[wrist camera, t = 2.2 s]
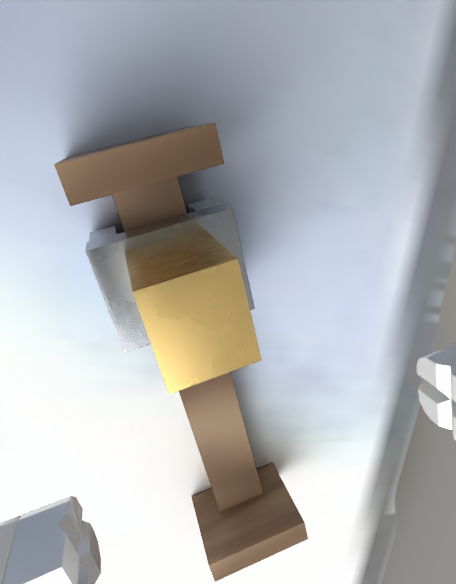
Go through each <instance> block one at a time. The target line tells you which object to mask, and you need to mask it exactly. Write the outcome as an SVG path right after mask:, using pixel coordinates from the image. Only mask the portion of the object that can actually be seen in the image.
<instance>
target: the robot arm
mask: <svg viewBox="0 0 456 584" xmlns="http://www.w3.org/2000/svg"><path fill="white" fill-rule="evenodd" d="M417 374H418V375H419V376H420V377H421V378H423V380H422V382H421V384H420V386H419V388H418V392H419V401H420V403H421V405H422V407H423V409H424V411H425V413H426V414H427V415H428V416H429V418H430V419H431V420H432V421H433V422H435V423H436V424H437V425H438V426H440V427H444V428H447V429H451V430H452V432H453V436H454V439H455V440H456V343H455V344H454V345H452V346H449V347H447V348H444V349H442V350H439V351H437V352H434V353H432V354H429V355H427V356H424V357H422V358H419V360H418V363H417ZM100 573H101V558H100V552H99V546H98V541H97V538H96V535H95V532H94V530H93V528H92V526H91V524H89V523H87V522H84V521H82V507H81V505H80V504H79V502H78V500H77V498H76V497H72V496H71V497H68V498H66V499H63V500H60V501H57V502H55V503H52V504H49V505H47V506H44V507H41V508H39V509H36V510H33V511H31V512H28V513H25V514H23V515H22V516H18V517H16V518H13V519H10V520H8V521H5V522H2V523H0V584H95V582H96V580H97V578H98V577H99V575H100Z"/></svg>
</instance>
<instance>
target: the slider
mask: <svg viewBox="0 0 456 584" xmlns="http://www.w3.org/2000/svg"><path fill="white" fill-rule="evenodd" d="M188 206H189V210H190V213H187V214H184V215H181V216H177V217H174V218H170V219H167V220H163V221H160V222H157V223H153V224H150V225H146V226H143V227H139V228H136V229H133V230H129V231H126V232H122V233H119V234H117V231H116V229H115V226H111V227H108V228H104V229H101V230H97V231H94V232H90V239H89V242H88V243H87V245H86V253H87V256H88V258H89V261H90V264H91V266H92V269H93V271H94V274H95V277H96V279H97V282H98V284H99V287H100V289H101V292H102V295H103V297H104V300H105V302H106V305H107V307H108V310H109V313H110V315H111V318H112V320H113V323H114V325H115V328H116V331H117V333H118V336H119V338H120V341H121V344H122V346H123V349H124V351H125V353H127V352H130V351H133V350H136V349H139V348H141V347H144V346H147V345H150V344H151V345H152V348H153V351H154V354H155V357H156V359H157V362H158V365H159V368H160V371H161V374H162V376H163V379H164V382H165V385H166V388H167V390H168V393H169V394H171V393H174V392H177V391H179V390H182V389H185V388H188V387H190V386H193V385H196V384H198V383H201V382H204V381H207V380H209V379H212V378H215V377H217V376H220V375H223V374H226V373H228V372H231V371H234V370H236V369H239V368H242V367H244V366H247V365H250V364H253V363H255V362H258V361H261V356H260V351H259V347H258V343H257V338H256V334H255V330H254V325H253V321H252V317H251V312H250V310H252V309H255V307H254V303H253V298H252V294H251V289H250V285H249V281H248V276H247V272H246V267H245V263H244V258H243V254H242V249H241V245H240V241H239V236H238V232H237V227H236V223H235V218H234V214H233V209H232V208H231V207H229V206H228V205H226V204H224V203H222V204H221V203H219V202H217V201H215V200H213V199H211V198H208V199H205V200H201V201H198V202H194V203H191V204H188Z"/></svg>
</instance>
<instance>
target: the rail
mask: <svg viewBox="0 0 456 584" xmlns="http://www.w3.org/2000/svg"><path fill="white" fill-rule="evenodd" d="M222 164H224V160H223V156H222V151H221V147H220V142H219V138H218V133H217V129H216V124H215V123H214V124H206V125H199V126H192V127H187V128H183V129H179V130H175V131H171V132H168V133H164V134H160V135H156V136H152V137H148V138H144V139H140V140H136V141H132V142H128V143H124V144H120V145H116V146H112V147H109V148H105V149H101V150H97V151H93V152H89V153H85V154H81V155H77V156H73V157H69V158H65V159H63V160H62V161H60V162H58V163H56V164H54V165H55V168H56V170H57V173H58V175H59V178H60V181H61V183H62V186H63V188H64V191H65V194H66V196H67V199H68V201H69V204H70V206H72V205H76V204H80V203H83V202H87V201H91V200H94V199H98V198H101V197H105V196H109V195H112V196H113V199H114V202H115V205H116V208H117V211H118V213H119V216H120V219H121V222H122V225H123V228H124V231H125V232H126V231H129V230H133V229H136V228H139V227H143V226H146V225H150V224H153V223H157V222H160V221H163V220H167V219H170V218H174V217H177V216H181V215H184V214H187V211H186V207H185V204H184V200H183V196H182V193H181V189H180V185H179V182H178V178H177V177H178V176H182V175H185V174H189V173H192V172H196V171H200V170H203V169H207V168H211V167H214V166H218V165H222ZM179 393H180V396H181V399H182V402H183V404H184V407H185V410H186V413H187V416H188V419H189V422H190V425H191V428H192V431H193V434H194V437H195V440H196V443H197V446H198V449H199V451H200V454H201V457H202V460H203V463H204V466H205V469H206V472H207V475H208V478H209V481H210V484H211V487H212V488H211V489H209V490H206V491H204V492H201V493H199V494H197V495H194V496H192V500H193V504H194V508H195V512H196V516H197V520H198V524H199V528H200V532H201V536H202V540H203V544H204V548H205V552H206V556H207V560H208V563H209V567H210V569H211V572H212V574H213V577H214V580H215V581H217V580H219V579H222V578H224V577H226V576H228V575H230V574H232V573H235V572H237V571H239V570H241V569H243V568H246V567H248V566H250V565H252V564H254V563H256V562H259V561H261V560H263V559H265V558H267V557H269V556H272V555H274V554H276V553H278V552H280V551H282V550H285V549H287V548H289V547H291V546H293V545H295V544H298V543H300V542H302V541H304V540H306V539H308V537H307V533H306V528H305V524H304V521H303V519H302V517H301V515H300V513H299V512H298V510H297V508H296V506H295V504H294V502H293V500H292V498H291V496H290V495H289V493H288V491H287V489H286V487H285V485H284V483H283V481H282V479H281V478H280V476H279V474H278V472H277V470H276V468H275V466H274V464H273V463H271V464H268V465H266V466H264V467H261V468H259V469H256V465H255V462H254V458H253V454H252V451H251V447H250V443H249V439H248V436H247V432H246V428H245V425H244V421H243V417H242V414H241V410H240V406H239V403H238V399H237V395H236V392H235V388H234V384H233V381H232V377H231V373H230V372H228V373H226V374H223V375H220V376H217V377H215V378H212V379H209V380H207V381H204V382H201V383H198V384H196V385H193V386H190V387H188V388H185V389H182V390H179Z"/></svg>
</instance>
